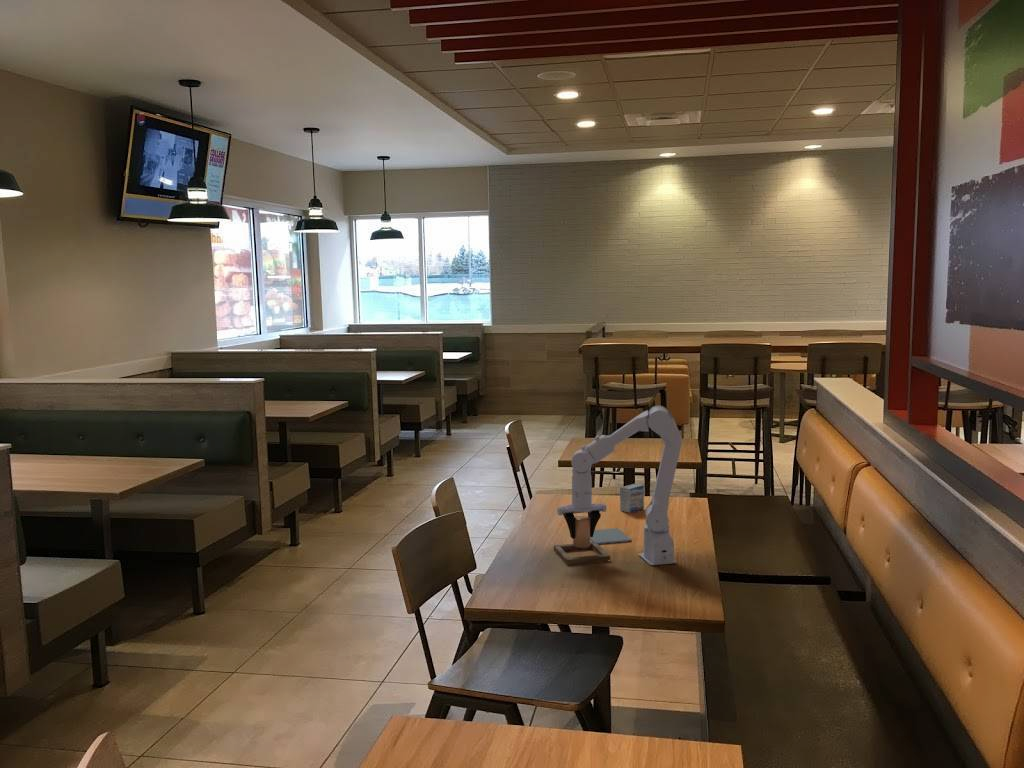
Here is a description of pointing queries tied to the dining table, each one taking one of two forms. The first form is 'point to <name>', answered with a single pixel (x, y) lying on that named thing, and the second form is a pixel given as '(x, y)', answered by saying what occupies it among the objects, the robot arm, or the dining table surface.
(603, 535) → the rubber mat
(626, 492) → the medicine box
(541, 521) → the dining table surface
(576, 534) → the terracotta cylinder
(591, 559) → the frame
